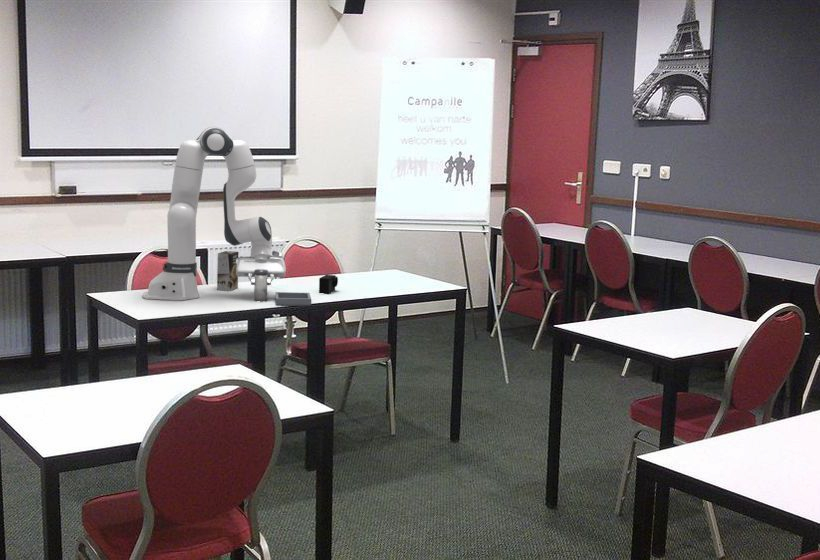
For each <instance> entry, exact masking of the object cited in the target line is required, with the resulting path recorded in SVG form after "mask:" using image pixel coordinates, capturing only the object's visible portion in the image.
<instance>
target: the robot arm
mask: <svg viewBox="0 0 820 560" xmlns="http://www.w3.org/2000/svg"><path fill="white" fill-rule="evenodd" d="M176 154H177V155H176V158H175V164H174V169H173V170H174V171H173V178H172V184H171V193H170V200H169V201H170V202H169V208H168V212H167V216H166V217H167V222H166V223H167V261H163V263H162V272H160V273H159V274H157V275H156V276H155V277H154V278H152V279H151V280H150V282H149V284H148V289H147V291H144V292H143V293H142V298H143V299H146V300H161V301H162V300H163V301H164V300H165V301H185V300H192V299H197V298H199V297H200V293H199V289H198V283H197V275H198V265H197V262H196V261H197V258H196V257H197V256H196V255H197V251H196V249H197V245H196V244H197V243H196V242H197V241H196V240H197V232H196V231H197V230H196V227H197V225H196V222H197V220H196V219H197V213H198V206H199V200H200V199H199V198H200V192H201V186H202V178H203V171H204V165H205V161H206V158H207V157H208V156H209V155H211V156H217V157H219V156H220V157H222V158H223V159H224V160H225V163H226V167H227V175H228V177H227V181H226V182H225V183H224V184H223V189H222V193H223V194H222V198H223V201H222V202H223V220H224V222H223V223H224V225H223V228H224V229H223V235H224V239H225V241H226V242H227V243H229V245H232V246H234V247H235V246H238V245H243V244H245V243H246V244H247V243H250V245H251V248H250V256H241V255H240V256H238V258H237V259H236V265H237V268H236V275H237V276H238V278H240V277H241V278H242V277H243V278H247V279H248V280H249V282H250V286H254V285H255V274H254V271H255V270H256V269H266V270H268V279H267V286H271V285H272V282H273V281H274V279H275V278H284V277H286V274H287V273H286V272H287V270H286V269H287V268H286V261H285V260H284V259H283V257H284V256H283V253H282V252H280V251H278V250H273V249H272V245H273V235H272V227H271V224H270V223H269V221H268V220H267V219H265V218H264V217H262V216H255V217H254V216H253V217H249V218H245V219H240V220H237V219H236V209H235V206H236V205H235V199H236V197H238V195H240V194H241V193H244V191H246V190H247V189H249V188H250V187H252V186H253V184H254V183H255V182H256V179H257V171H256V165H255V161H254V156H253V154H252V151H251V149H250V147H249V144H248V143H247V141H245V140H241V139H235V140H233V139H231V138H230V136H229V135H228V133H226V131H225V130H223V129H222V128H220V127H218V126H210V127H207V128H205V129H204V130H203V131H202V132H201V133H200V135H199V136H198V137H197V138H196V139H195V140H194V139H188V140H184V141H182V142H181V143H180V145H179V147H178V151H177V153H176Z"/></svg>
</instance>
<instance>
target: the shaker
mask: <svg viewBox="0 0 820 560" xmlns="http://www.w3.org/2000/svg"><path fill="white" fill-rule="evenodd" d="M254 274H255V277H254V279H255V285H253V286H254V287H253V288H254V290H253V291H254V292H253V293H254V295H253V300H255V301H254V302H257V301H260V302H259V303H263V301H265V302H267V301H268V285H267V280H268V279H269V277H268V270H266V269H256V270H255V271H254Z"/></svg>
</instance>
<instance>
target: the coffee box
mask: <svg viewBox="0 0 820 560" xmlns="http://www.w3.org/2000/svg"><path fill="white" fill-rule="evenodd" d="M238 257H239V251H226V250H225V251H221V252H218V253H217V268H216V269H217V272H216V273H217V275H216V278H217V279H216V280H217V282H216V283H217V284H216V290H217V289H218V290H217V291H224V290H226V291H225V292H231V291H233V289H234V290H236V289H238V288H239V277H238V276H237V275H236V268H237V265H236V259H237V258H238Z"/></svg>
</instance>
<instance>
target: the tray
mask: <svg viewBox="0 0 820 560" xmlns="http://www.w3.org/2000/svg"><path fill="white" fill-rule="evenodd" d="M274 295H275V298H274V301H276V302H275V306H276V305H281V306H280V307H312V296H311V293H310V292H292V291H291V292H290V291H289V292H282V291H281V292H280V291H278V292H276V291H275V293H274Z"/></svg>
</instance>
